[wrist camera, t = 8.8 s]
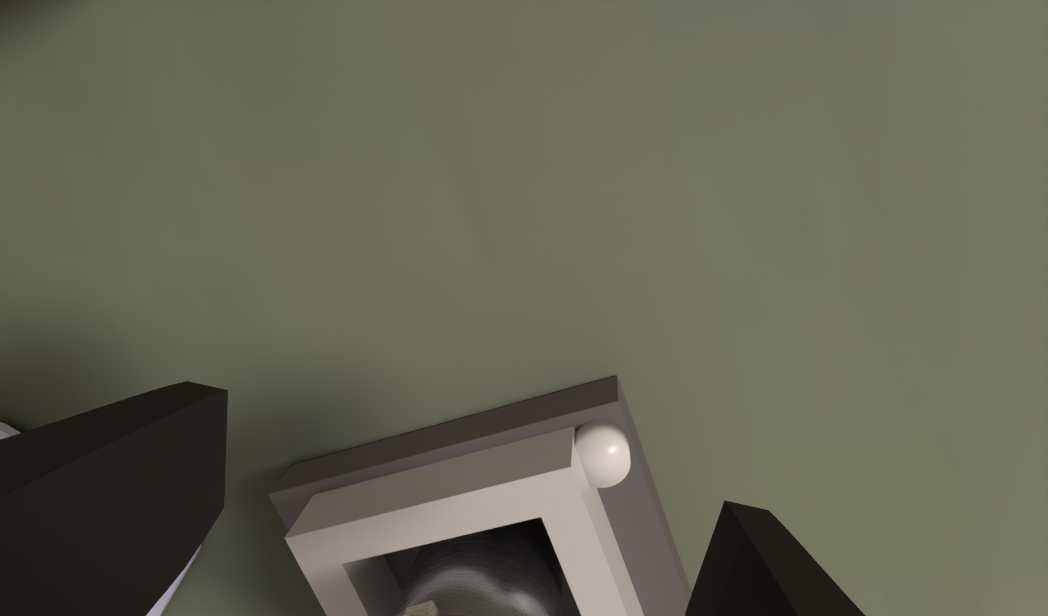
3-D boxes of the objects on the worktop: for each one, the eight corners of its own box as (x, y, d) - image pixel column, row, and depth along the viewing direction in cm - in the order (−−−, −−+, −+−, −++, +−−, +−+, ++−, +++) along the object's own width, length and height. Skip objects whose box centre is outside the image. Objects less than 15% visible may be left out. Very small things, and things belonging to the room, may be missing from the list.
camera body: (398, 671, 24) (366, 768, 21) (290, 465, 22) (234, 537, 18) (698, 613, 22) (716, 711, 19) (617, 375, 19) (620, 439, 16)
